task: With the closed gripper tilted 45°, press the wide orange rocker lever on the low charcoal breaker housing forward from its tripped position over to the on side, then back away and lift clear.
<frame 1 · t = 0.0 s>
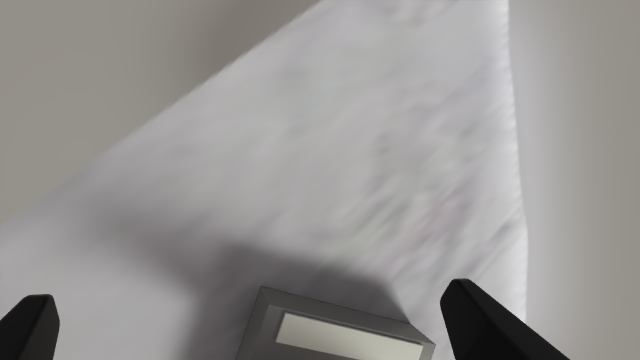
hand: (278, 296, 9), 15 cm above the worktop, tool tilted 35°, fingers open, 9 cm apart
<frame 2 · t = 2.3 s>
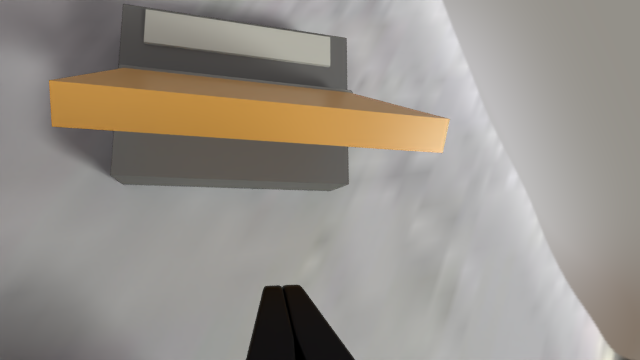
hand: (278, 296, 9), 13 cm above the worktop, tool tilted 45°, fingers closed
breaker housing: (236, 116, 22), on the worktop
breaker lever: (254, 101, 15), point 8 cm above the worktop, hinge at -25.0°
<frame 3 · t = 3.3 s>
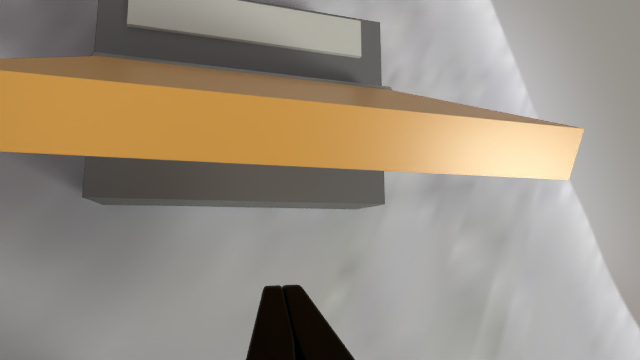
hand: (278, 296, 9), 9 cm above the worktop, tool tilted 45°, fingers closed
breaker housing: (243, 119, 18), on the worktop
breaker lever: (274, 101, 10), point 8 cm above the worktop, hinge at -25.0°
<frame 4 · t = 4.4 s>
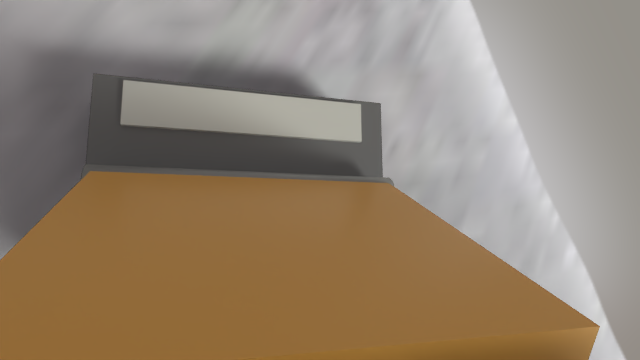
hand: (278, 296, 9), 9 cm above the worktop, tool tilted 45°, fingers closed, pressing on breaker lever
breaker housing: (241, 199, 18), on the worktop
breaker lever: (272, 239, 10), point 8 cm above the worktop, hinge at -24.6°, touching gripper
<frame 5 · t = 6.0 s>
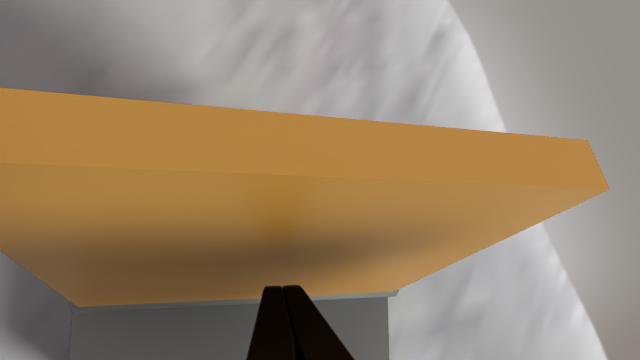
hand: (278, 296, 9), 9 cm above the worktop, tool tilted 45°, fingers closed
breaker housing: (239, 274, 17), on the worktop
breaker lever: (274, 247, 10), point 8 cm above the worktop, hinge at 18.6°
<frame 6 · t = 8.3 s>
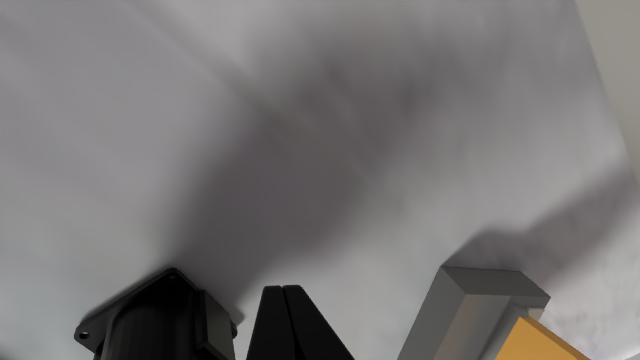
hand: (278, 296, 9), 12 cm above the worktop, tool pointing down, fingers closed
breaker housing: (453, 325, 32), on the worktop
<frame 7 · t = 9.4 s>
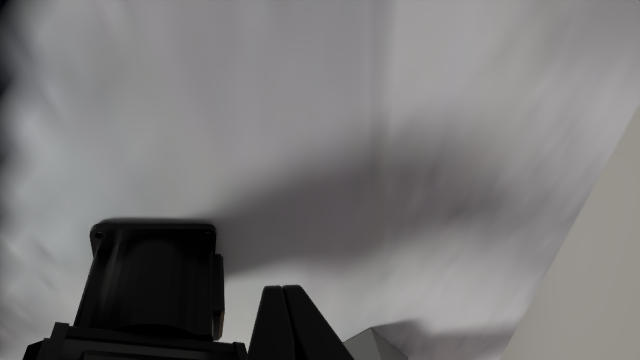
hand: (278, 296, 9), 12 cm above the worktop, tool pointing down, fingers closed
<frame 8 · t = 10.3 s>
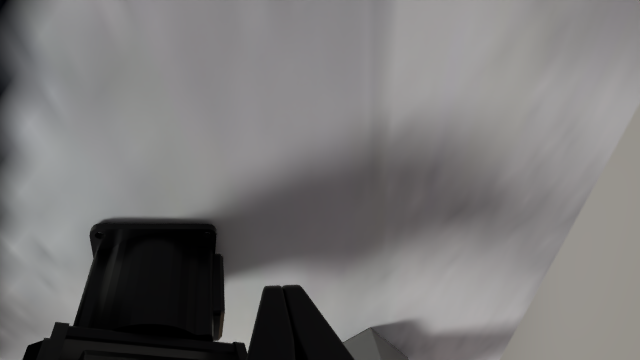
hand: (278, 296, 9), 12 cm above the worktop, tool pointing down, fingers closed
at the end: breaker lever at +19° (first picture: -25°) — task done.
